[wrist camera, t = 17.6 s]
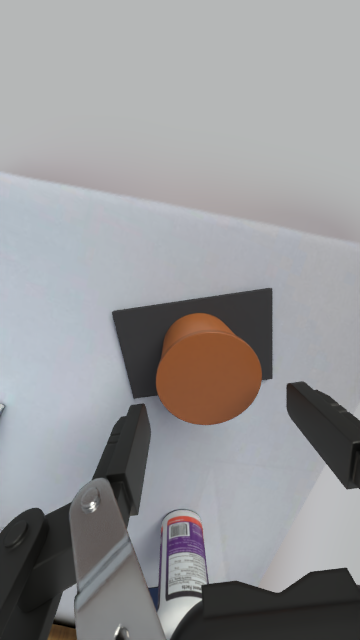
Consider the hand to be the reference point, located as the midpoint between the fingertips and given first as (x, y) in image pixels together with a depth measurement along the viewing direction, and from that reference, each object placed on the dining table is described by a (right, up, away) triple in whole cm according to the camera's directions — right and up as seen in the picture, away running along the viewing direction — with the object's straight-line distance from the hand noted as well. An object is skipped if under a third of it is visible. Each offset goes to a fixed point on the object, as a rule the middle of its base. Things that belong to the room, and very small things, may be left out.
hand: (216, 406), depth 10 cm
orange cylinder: (0, +2, +6) cm, 7 cm away
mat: (0, +2, +7) cm, 7 cm away
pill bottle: (-2, -22, +14) cm, 26 cm away
